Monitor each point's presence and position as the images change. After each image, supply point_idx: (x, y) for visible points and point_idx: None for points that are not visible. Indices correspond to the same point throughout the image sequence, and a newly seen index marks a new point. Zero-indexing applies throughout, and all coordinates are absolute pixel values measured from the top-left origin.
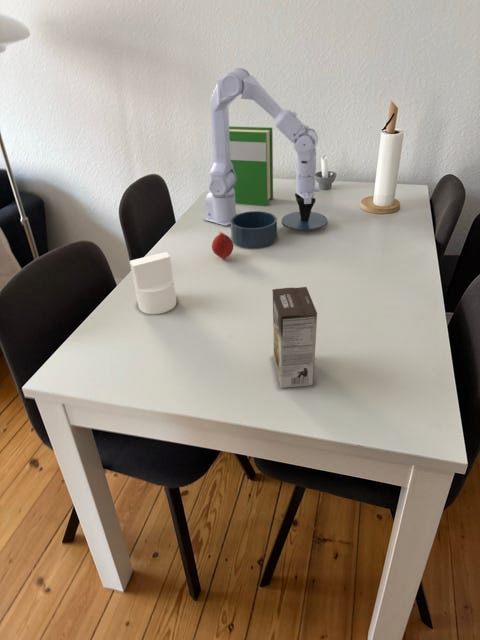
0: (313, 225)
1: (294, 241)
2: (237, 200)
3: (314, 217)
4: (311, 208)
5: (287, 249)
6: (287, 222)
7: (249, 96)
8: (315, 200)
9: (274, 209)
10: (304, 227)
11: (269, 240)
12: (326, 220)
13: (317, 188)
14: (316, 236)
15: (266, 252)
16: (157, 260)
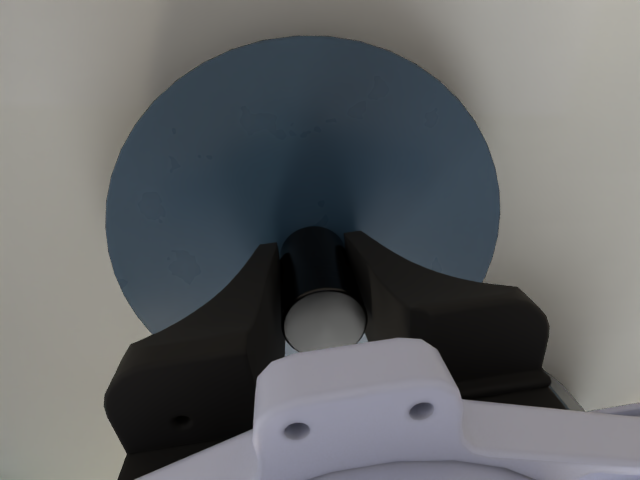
0: (438, 181)
1: (540, 275)
2: None
3: (254, 174)
4: (433, 271)
5: (627, 300)
6: None
7: None
8: (521, 296)
9: (26, 422)
10: (465, 247)
11: (578, 403)
12: (332, 51)
13: (364, 421)
14: (499, 140)
15: (621, 380)
16: None
